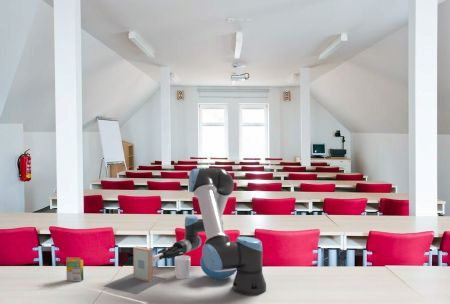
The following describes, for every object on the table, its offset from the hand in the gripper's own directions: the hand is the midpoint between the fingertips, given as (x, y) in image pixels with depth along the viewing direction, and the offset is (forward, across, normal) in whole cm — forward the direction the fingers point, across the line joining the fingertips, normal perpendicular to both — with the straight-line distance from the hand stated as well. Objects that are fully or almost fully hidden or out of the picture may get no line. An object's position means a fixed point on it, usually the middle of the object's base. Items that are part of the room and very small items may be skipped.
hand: (154, 259), depth 199 cm
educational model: (-12, -31, -8) cm, 34 cm away
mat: (+13, 0, -8) cm, 16 cm away
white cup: (-4, -15, -8) cm, 18 cm away
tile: (+8, 0, -7) cm, 11 cm away
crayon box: (+24, +29, -8) cm, 39 cm away
